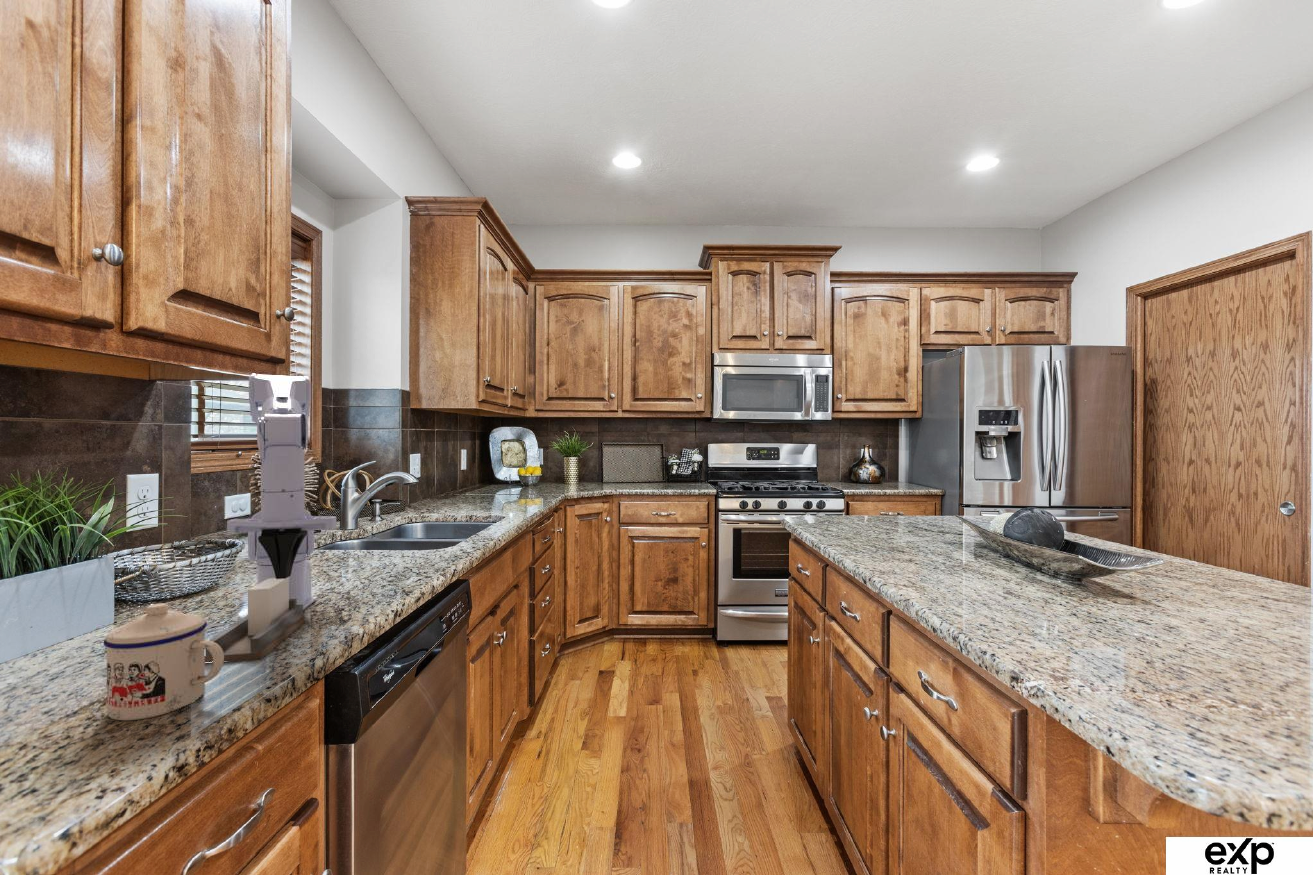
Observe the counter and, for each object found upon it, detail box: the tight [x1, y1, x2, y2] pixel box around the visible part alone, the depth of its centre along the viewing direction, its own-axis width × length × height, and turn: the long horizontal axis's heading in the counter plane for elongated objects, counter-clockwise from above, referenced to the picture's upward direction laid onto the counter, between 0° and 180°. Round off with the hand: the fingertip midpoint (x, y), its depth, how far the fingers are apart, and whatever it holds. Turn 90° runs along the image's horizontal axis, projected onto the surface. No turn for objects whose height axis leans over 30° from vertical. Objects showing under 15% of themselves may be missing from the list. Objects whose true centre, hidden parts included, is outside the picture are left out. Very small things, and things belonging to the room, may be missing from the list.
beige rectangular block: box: [247, 577, 289, 635], centre depth 89 cm, size 3×7×7 cm, turn 13°
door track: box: [205, 599, 306, 662], centre depth 86 cm, size 16×7×4 cm, turn 13°
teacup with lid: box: [103, 602, 225, 721], centre depth 66 cm, size 12×9×12 cm
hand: (283, 577), depth 87 cm, fingers closed
